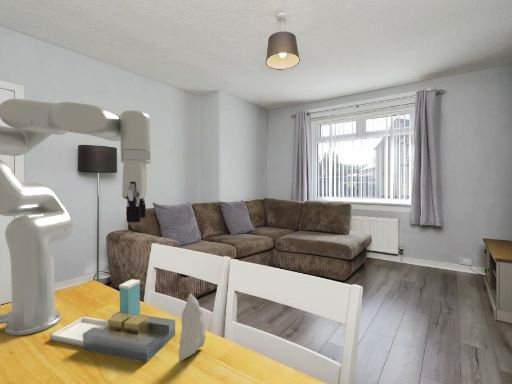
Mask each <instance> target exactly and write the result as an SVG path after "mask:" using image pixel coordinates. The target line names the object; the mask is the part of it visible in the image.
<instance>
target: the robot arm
mask: <svg viewBox="0 0 512 384" xmlns="http://www.w3.org/2000/svg"><path fill="white" fill-rule="evenodd" d="M0 120H1V121H2V122H3V123H4V124H5V125H7V126H4V125H0V156H1V155H3V156H10V157H13V156H14V157H19V156H23V155H25V154H27V153H29V152H31V151H32V150H33V149H35V148H36V147H37V146H38V145H40V144H41V143H43V142H44V141H45V140H46V139H48V138H49V137H50V136H51V135H56V136H57V135H58V136H63V135H65V134H66V133H74V134H82V135H87V136H92V137H96V138H101V139H104V140H108V141H111V142H119V141H120V163H122V164H123V167H122V187H121V188H122V189H121V192H122V194H121V195H122V196H121V197H122V199H124V200H126V207H125V209H126V222H127V223H140V222H141V219H143V218H146V213H147V212H146V199H145V198H146V197H147V189H148V188H147V185H148V183H147V181H148V179H147V178H148V177H147V170H148V169H147V165H148V164H149V165H150V164H151V163H152V161H151V118H150V116H149V114H147V113H146V112H143V111H139V110H125V111H123V112H121V113H120V114H117V113H115V112H112V111H110V110H107V109H105V108H102V107H100V106H97V105H93V104H86V103H78V102H71V101H61V102H57V103H56V102H47V101H39V100H30V99H23V98H9V99H6V100H4V101H3V102H1V103H0ZM0 216H3V217H16V218H14V219H12V220H11V221H10V222H9V223H8V224H7V226H6V227H5V231H4V232H5V240H6V241H5V242H6V244H7V247H8V252H9V256H10V257H9V259H10V273H11V278H10V281H11V311H8V312H7V313H0V325H1V324H6V325H5V326H4V333H5V334H7V335H9V336H25V335H31V334H36V333H38V332H42V331H44V330H46V329H50V328H51V327H53V326H54V325H56V324H58V323H59V322H60V321H61V319H62V312H61V311H58V310H56V307H55V305H56V303H55V301H56V300H55V299H56V298H55V295H56V294H55V293H56V292H55V260H54V256H53V253H52V252H51V249H50V248H49V245H50V244H54V243H57V242H60V241H63V240H66V239H67V238H69V237H70V236H71V235H72V233H73V231H74V221H73V219H72V216H71V215H70V213H69V212H68V211H67V209H66V208H65V206H64V205H63V203H62V202H61V201H60V199H59V198H58V197H57V195H56V194H55V193H54V191H53V190H52V189H51V188H50V187H48V186H47V185H44V184H42V183H37V182H36V183H35V182H24V181H22V180H20V179H19V178H18V176H17V175H16V174H15V173H14V170H12V168H11V167H10V166H9V165H8V164H7V163H6V162H4V161H3V160H2V159H0Z"/></svg>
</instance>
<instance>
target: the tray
mask: <svg viewBox="0 0 512 384" xmlns="http://www.w3.org/2000/svg"><path fill="white" fill-rule="evenodd" d="M108 320H109V319H101V318H94V317H88V316H81V317H80V318H78V319H77V320H75V321H73V322H71V323H69V324H67V325H65V326H64V327H62V328H60V329H58V330H56V331H54V332H52V333H51V334H50V335H49V341H53V342H58V343H63V344H67V345H73V346H77V347H82V348H83V333H85V332H86V331H88V330H90V329H91V328H93V327H94V328H99V329H103V328H105V327H107V326H108Z"/></svg>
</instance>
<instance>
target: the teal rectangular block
mask: <svg viewBox="0 0 512 384" xmlns="http://www.w3.org/2000/svg"><path fill="white" fill-rule="evenodd" d="M118 287H119V312H126V313H132V314H139V315H141V294H140V293H141V291H140V290H141V280H140V279H133V278H131V279H130V280H127V281H124V282H123V283H121V284H119V286H118Z"/></svg>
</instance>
